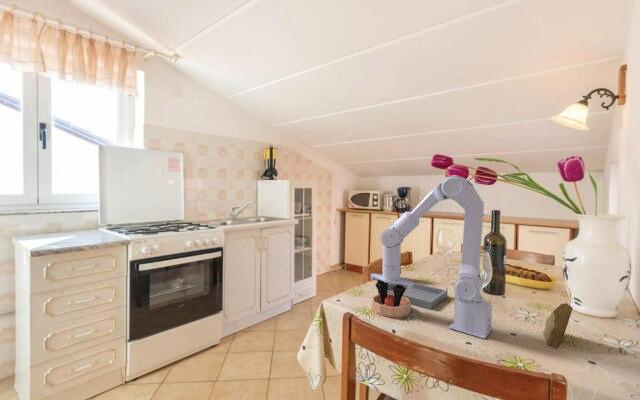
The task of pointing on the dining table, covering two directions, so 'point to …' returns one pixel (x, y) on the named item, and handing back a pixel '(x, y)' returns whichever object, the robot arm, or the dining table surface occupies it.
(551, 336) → the rock
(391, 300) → the ball
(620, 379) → the dining table surface
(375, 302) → the pink bowl
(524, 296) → the dining table surface
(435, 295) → the tray
